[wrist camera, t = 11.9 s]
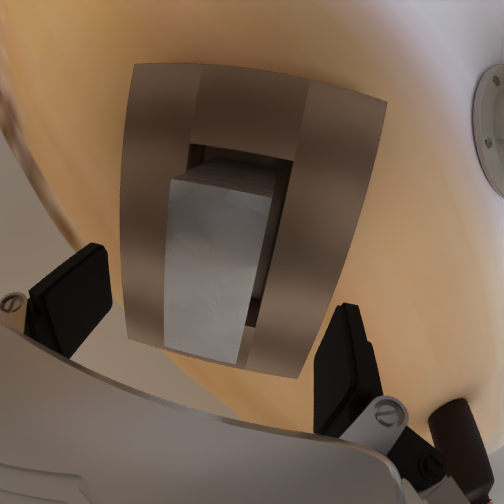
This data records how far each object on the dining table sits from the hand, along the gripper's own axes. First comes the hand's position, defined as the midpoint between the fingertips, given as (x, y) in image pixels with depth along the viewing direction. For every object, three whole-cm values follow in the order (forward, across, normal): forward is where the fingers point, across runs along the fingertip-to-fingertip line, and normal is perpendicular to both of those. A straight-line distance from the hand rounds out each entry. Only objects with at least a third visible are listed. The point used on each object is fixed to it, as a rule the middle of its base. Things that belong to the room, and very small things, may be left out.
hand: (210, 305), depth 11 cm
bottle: (+12, -33, +22) cm, 41 cm away
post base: (+11, +1, +1) cm, 11 cm away
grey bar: (+10, +1, +1) cm, 10 cm away
